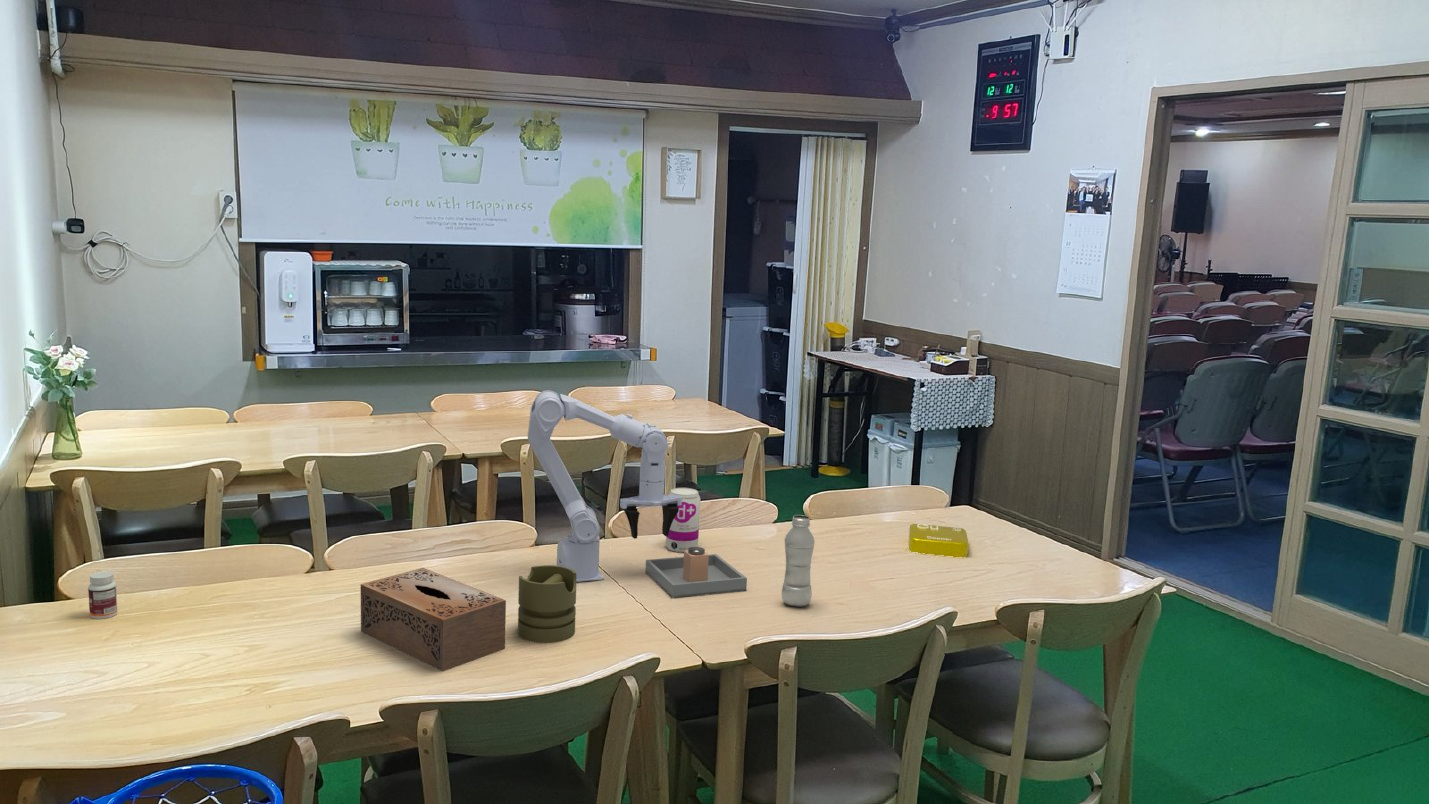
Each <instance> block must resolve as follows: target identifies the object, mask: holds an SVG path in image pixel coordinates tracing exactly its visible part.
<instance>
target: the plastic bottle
mask: <svg viewBox="0 0 1429 804" xmlns="http://www.w3.org/2000/svg"><path fill="white" fill-rule="evenodd" d="M810 522H811V517H810V516H809V515H805V514H804V515H803V514H795V515H793V516H792V522H791V525H792V527H791V529H789V531H788V532H786V533H787V534H785V536H784V537H785V538H784V550H785V571H784V578H783V583H782V586H781V599H782V601H783V603H785V605H788V606H791V607H798V608H799V607H805V606H808V605H809V603H810V602H811V600H812V596H813V591H812V584H811V568H812V567H811V566H812V559H813V558H812V557H813V554H814V553H813V552H814V548H815V542H816V541H815V537H814V535H813V533H812V531H810V529H809V527H811V523H810Z"/></svg>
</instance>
